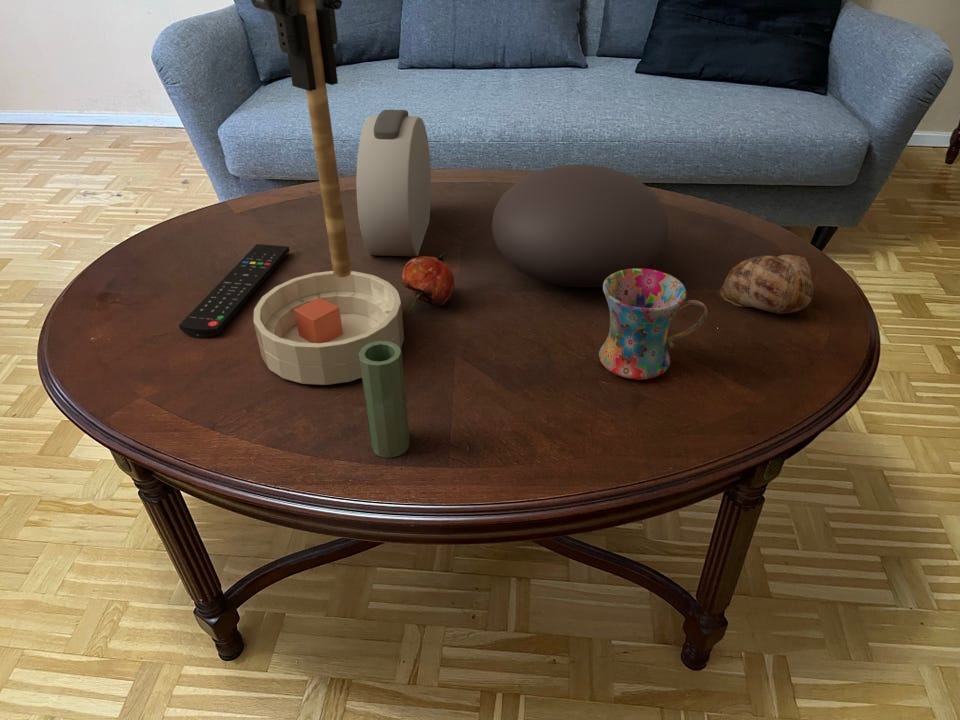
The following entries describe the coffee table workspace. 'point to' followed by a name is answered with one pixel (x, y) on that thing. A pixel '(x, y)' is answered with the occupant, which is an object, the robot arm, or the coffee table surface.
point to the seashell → (770, 284)
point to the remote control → (233, 291)
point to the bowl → (364, 320)
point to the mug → (642, 321)
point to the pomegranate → (428, 279)
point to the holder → (385, 398)
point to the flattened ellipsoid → (579, 224)
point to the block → (318, 321)
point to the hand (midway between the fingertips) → (315, 84)
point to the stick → (325, 148)
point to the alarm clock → (393, 184)
